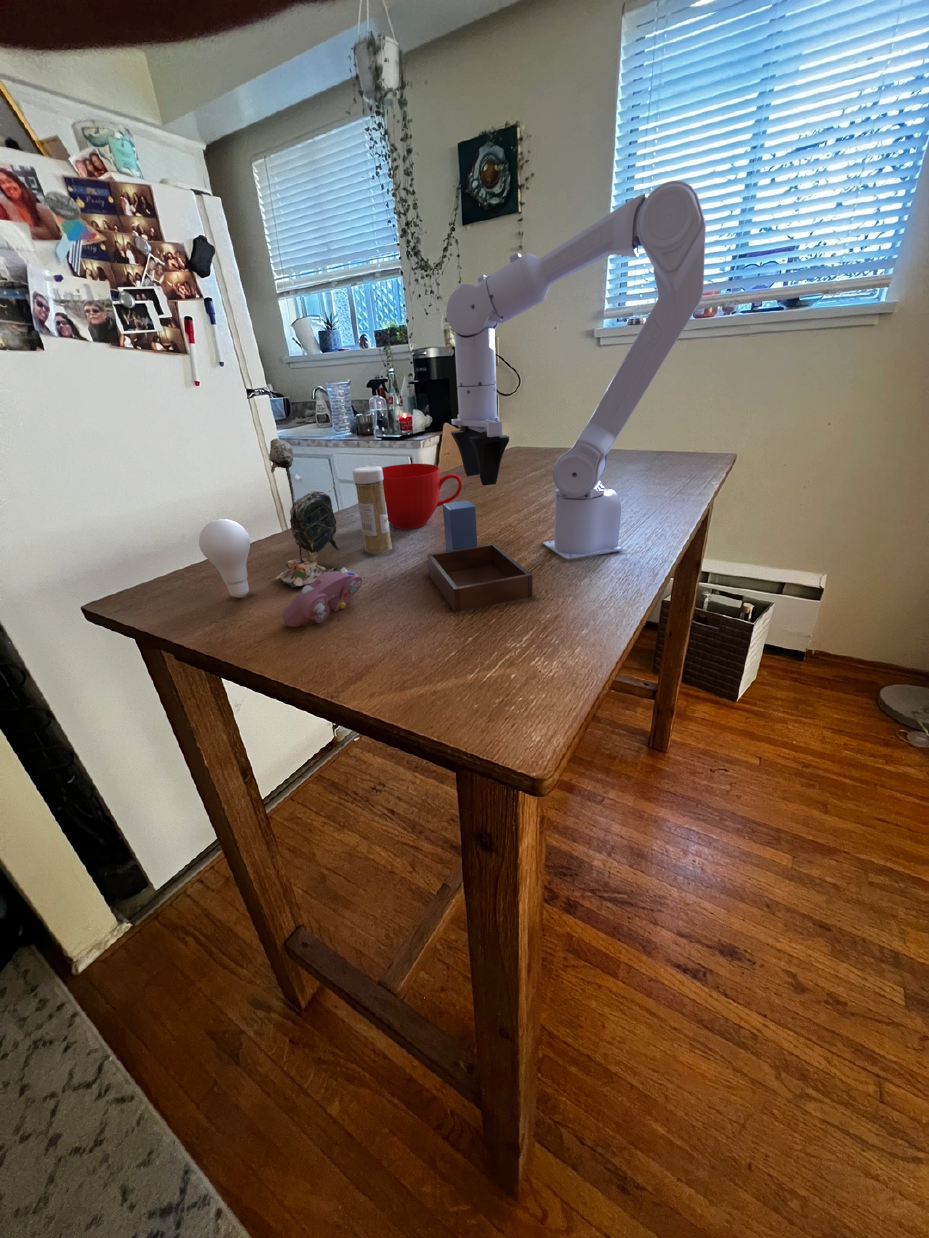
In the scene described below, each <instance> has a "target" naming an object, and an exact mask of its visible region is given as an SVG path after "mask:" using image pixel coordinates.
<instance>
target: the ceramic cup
mask: <svg viewBox="0 0 929 1238" xmlns="http://www.w3.org/2000/svg"><path fill="white" fill-rule="evenodd" d="M381 468H382V472H383V489H384V496H385V502H386V508H387V515H388V522H389V524H391V525H392V526H393V527H394V528H395V529H401V530H409V529H410V530H411V529H418V528H420V527H424V526H426V525H427V524H428V522H429V520H431V518H432V516H433V514H434V513H435V511H436V509H437V507H441V506H443V504H445V503H451V502H453V500H455V499H456V498H457V497H458V496H459V495H460V493H461V491H462V489H463V480H462V478H461V477H460V476H459V475H458V474H456V473H448V474H445V475H443V476H442V477H441V469H440V467H439V466H438V465H436V464H430V463H401V464H393V465H388V466H382V467H381ZM449 479H455V480H456V481H457V482H458V487H457V489H456V490H455V492H454V493H453V494H452V495H450V496H449V497H447V498H445V499H442V500H440V493H441V490H442V486H443V485H444V483H445V482H446V481H447V480H449Z"/></svg>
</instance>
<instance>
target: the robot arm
mask: <svg viewBox="0 0 929 1238" xmlns="http://www.w3.org/2000/svg"><path fill="white" fill-rule="evenodd" d="M706 222H707V221H706V219H705V216H704V211H703V208H702V205H701V202H700V198H699V195H698V193H697V192H696V190H695V188H694V187H693V186H692V185H691V184H689V183H688V182H686V181H682V180H670V181H667V182H664V183H662V184H660V185H658V186H657V187H656V188H654V189H653V190H652V191H651V192H650V193H649V194H648V195H647V194H646V193H643V194H639V195H638V196H634V197H633V198H632V199H630V200H628V201H627V202H625V203H624V204H622V205H621V206H619V207H617V208H616V209H614V210H613V211H611V212H610V213H608V214H606V215H605V216H604V217H602V218H601V219H599V220H597V221H596V222H594V223H592V224H591V225H590V226H588V227H586V228H584V229H583V230H581V231H580V232H578V233H576V234H575V235H574V236H572V237H571V238H569V239H567V240H566V241H564V242H563V243H561V244H560V245H558V246H557V247H555V248H554V249H552V250H551V251H549V252H548V253H546V254H544V255H543V256H541V257H539V256H537V255H535V254H533V253H531V252H526V253H524V254H523V255H522V254H521V253H519V252H515V253H513V254H512V255H510V256H509V257H508V260H509V263H507V264H506V265H504V266H503V267H501V268H498V270H496V271H494V272H492V273H490V274H489V275H486V274H481V275H480V276H478V277H477V279H476V280H477V284H476V285H475V284H471V283H463V284H460V285H459V286H458V288H457V289H455V290H454V291H453V292H452V293H451V295H450V296H449V298H448V301H447V304H446V310H445V311H446V319H447V322H448V324H449V326H450V328H451V330H453V336H454V355H455V373H456V374H455V375H456V388H457V389H456V390H457V405H458V414H457V418H452V419H451V425H454V426H457V427H458V428H459V430H452V431H451V432H450V434H451V437H452V438H453V441H455V443H456V446H457V448H458V451H459V454H460V457H461V462H462V466H463V469H464V472H465V475H466V477H471V476H472V477H473V476H479V479H480V482H481V486H483V487H484V486H491V485H492V486H493V485H496V484H497V481H498V477H499V473H500V467H501V462H502V459H503V455H504V453H505V451H506V449H507V446H508V444H509V443H510V436H509V435H506V434H504V435H503V421H502V420H500V418H499V415H498V402H497V401H498V400H497V399H498V398H497V397H498V395H497V394H498V393H497V362H496V361H497V359H496V340H495V339H496V338H495V337H496V336H495V331H496V330H497V328H498V326H499V324H504V323H505V322H507V321H509V320H511V319H513V318H515V317H517V316H518V315H520V314H523V313H524V312H526V311H529V310H530V309H532V308H533V307H535V306H537V305H539V304H541V303H543V302H544V301H545V300H546V298H547V295H548V293H549V289H550V288H551V286H552V285H553V284H555V283H557V282H559V281H562V280H563V279H565V278H568V277H569V276H571V275H574V274H576V273H578V272H579V271H582V270H584V269H586V268H588V267H590V266H591V265H593V264H596V263H598V262H600V261H602V260H604V259H606V258H608V257H610V256H613V255H614V256H624V257H631V258H638V257H639V251H640V247H642V248H643V250H644V252H645V254H646V256H647V258H648V259H649V262H650V263H651V265H652V267H653V270H652V271H653V276H654V280H655V285H656V290H657V296H658V297H657V300H656V302H655V303H654V305H653V307H652V309H651V311H650V312H649V314H648V315H647V318H646V320H645V321H644V323H643V325H642V327H641V328H640V330H639V332H638V334H637V335H636V337H635V339H634V341H633V342H632V344H631V346H630V347H629V349H628V351H627V353H626V354H625V357H624V358H623V360H622V362H621V363H620V365H619V367H618V369H617V371H616V372H615V375H614V376H613V377H612V379H611V382H610V383H609V385H608V386H607V388H606V390H605V392H604V393H603V395H602V397H601V399H600V401H599V402H598V403H597V406H596V408H595V410H594V412H593V413H592V415H591V416H590V418H589V420H588V422H587V423H586V425H585V426H584V428H582V429H583V430H582V431H581V432H580V434H579V436H578V437H577V438H576V440H575V442H574V444H573V445H572V446H571V447H570V448H569V450H568V451H566V452H564V453H563V454H562V455H560V456H559V458H558V459H557V460H556V462H555V463H554V466H553V468H552V481H553V484H554V486H555V487H556V488H555V489H554V520H553V521H554V522H553V540H548V541H543V544H542V545H544V546H545V547H546V548H548V549H549V550H551V551H553V552H554V553H555V554H557V556H560V557H562V558H563V559H564V560H574V559H577V558H585V557H590V556H595V555H596V556H600V555H606V554H610V553H611V554H612V553H615V552H620V551H621V550H622V548H621V546H619V541H620V529H621V528H620V527H621V520H622V519H621V517H622V504H621V500H620V497H619V495H618V493H617V492H616V491H615V490H614V489H611V488H606V487H605V486H604V485H603V483H602V481H601V480H600V478H601V477H602V476H603V475H604V473H605V471H606V469H607V465H608V456H609V453H610V451H611V449H612V448H613V446H614V445H615V443H616V441H617V439H618V437H619V435H620V434H621V432H622V431H623V429H624V428H625V426H626V424H627V423H628V421H629V419H630V418H631V416H632V415H633V413H634V411H635V409H636V408H637V406H638V404H639V403H640V402H641V400H642V398H643V396H644V395H645V393H646V391H648V388H649V387H650V385H651V383H652V382H653V380H654V378H655V377H656V375H657V373H658V372H659V370H660V369H661V367H662V365H663V364H664V362H665V361H666V359H667V357H668V355H669V354H670V352H671V351H672V349H673V348H674V346H675V344H676V342H677V341H678V340H679V338H680V336H681V334H682V333H683V331H684V329H685V328H686V327H687V325H688V323H689V321H690V320H691V318H692V316H693V315H694V313H695V312H696V310H697V308H698V307H699V305H700V303H701V300H702V299H703V295H704V282H705V281H704V280H705V257H706V255H705V253H706V233H707V232H706V230H707V229H706V228H707V224H706Z"/></svg>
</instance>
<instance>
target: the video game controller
mask: <svg viewBox="0 0 929 1238" xmlns="http://www.w3.org/2000/svg"><path fill="white" fill-rule="evenodd" d="M326 572H327V573H324V574H321V575H320V576H318V577H317V578H316V579H315V580H314V581H313V582H312V583H310V584H306V585H304V587H302V589H301V590H300V591H299V592H298V593H297V594H296V596H295V597H294V599H293V600H292V602H290V603H289V604H288V605H287V606H286V607H285V608H284V610H283V611H282V620H283V622H284V624H285V625H286V626H287V627H290V628H297V627H300V626H301V625H303V624H304V623H305V622H307V621H309V620H313V621H314V622H316V623H317V624H320V623H323V621H325V620H326V619H327V618H328V616H329V614H330V610H331V609H332V610H333V611H334V612H339V611H340V610H342V609H345V607H347V605H348V604H349V601H350V600H351V599H352V598H353V597H354V596H355V595H356V594H357V592H359V590H360V588H362V587H361V586H362V583H363V578H362V577H361V576H360V575H358V574H357V573H355V572H354V571H351V570H348V569H347V568H346V567H342V568H341V569H340V570H339V571H335V570H333V571H332V572H328V571H326ZM328 602H329V603H328Z"/></svg>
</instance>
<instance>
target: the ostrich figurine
mask: <svg viewBox="0 0 929 1238" xmlns="http://www.w3.org/2000/svg"><path fill="white" fill-rule="evenodd" d="M268 457H269V461H270V463H272V465H271V470H270V473H274V472H275V470H276V468H280V469H285V472H286V477H287V481H288V487H289V491H290V497H291V498H290V499H291V505H292V506H291V507H290V510H289V515H290V519H289V523H290V531H291V533H292V537H293V538H294V542H295V545H297V546H298V548H299V557H300V558H296V559H291V560H288V561H287V562H286V563H285V567H286V569H285V570H283V571H281V573H278V575H277V576H276V577H275V578H274V580H275V581H276V580H279V579H280V581H283V582H284V583H285V584H287V585H289V586H290V587H291V588H295V587H302V586H307V585H310V584H311V583H312V582H313V581H314V580H315V579H316V578H317V577H318V576H320V575H321V574H324V573H327V572H333V571H335V570H334V569H336V568H337V566H334V567H332V568H330V569H328V570H327V571H326V567H324V566H321V565H319V563H318V562H317V559H318V555H319V552H321V551H322V550H323V549H324V548H325V547H326V545H327V544H328V543H330V544H331V546H332V547H333V549H335V551H340V548H339V547H338V544H337V543H336V541H335V539H334V536H335V534H336V532H337V526H336V524H337V520H336V516H335V513H334V510H333V504H332V503H333V502H332V499H331V497H330V495H329V494H328V493H330V492H331V490H329V491H328V493H326V492H324V491H318V490H312V491H309V492H308V493H306V494H305V495H304V496H302V497H300V498H297V499H296V501H295V494H294V487H293V482H292V476H291V471H290V468H291V467H292V466H293V462H294V449H293V447H292V445H291V444H290V443H288V442H287V441H285V440H283V439H280V438H273V439H272V440H270V450H269V454H268ZM302 549H303V550H305V551H306V553H307V558H303V557H302Z"/></svg>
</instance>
